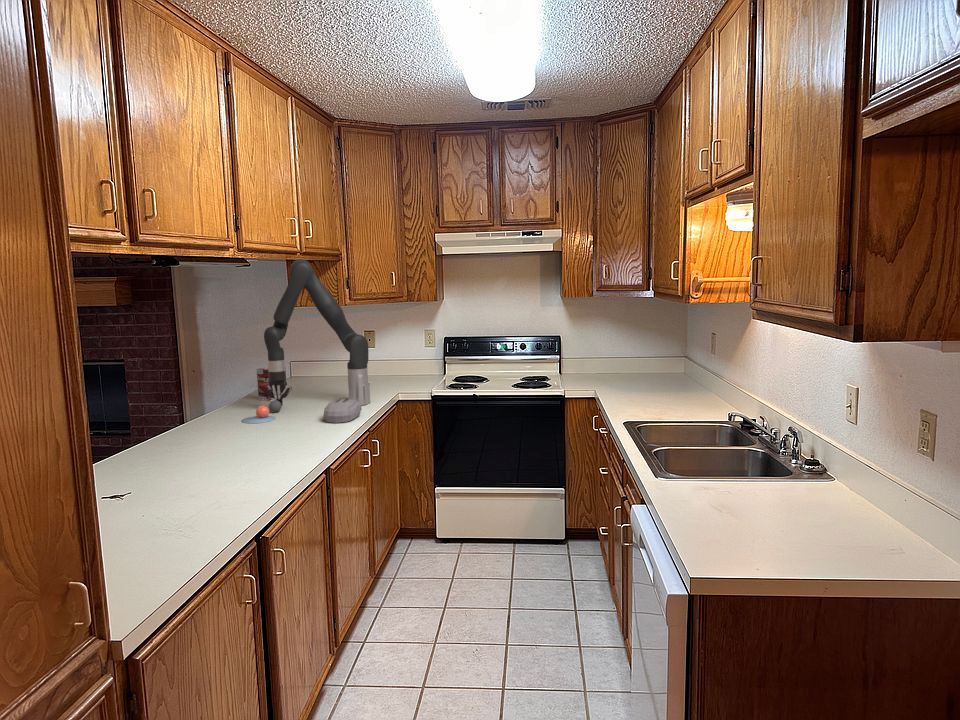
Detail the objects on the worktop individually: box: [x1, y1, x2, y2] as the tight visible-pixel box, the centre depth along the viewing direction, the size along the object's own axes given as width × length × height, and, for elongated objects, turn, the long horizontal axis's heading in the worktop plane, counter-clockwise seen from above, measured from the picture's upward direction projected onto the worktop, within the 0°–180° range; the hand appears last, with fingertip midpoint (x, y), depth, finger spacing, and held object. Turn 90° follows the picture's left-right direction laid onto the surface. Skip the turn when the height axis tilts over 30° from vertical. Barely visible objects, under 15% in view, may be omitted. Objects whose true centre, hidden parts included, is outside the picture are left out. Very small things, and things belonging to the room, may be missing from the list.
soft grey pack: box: [323, 397, 362, 424], centre depth 277 cm, size 15×8×20 cm
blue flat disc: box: [240, 415, 276, 425], centre depth 279 cm, size 14×14×1 cm
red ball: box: [255, 405, 270, 418], centre depth 281 cm, size 6×6×6 cm
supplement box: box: [256, 367, 275, 403], centre depth 322 cm, size 9×5×16 cm, turn 62°
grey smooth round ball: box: [268, 400, 282, 413], centre depth 293 cm, size 6×6×6 cm
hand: (279, 407), depth 297 cm, fingers closed
